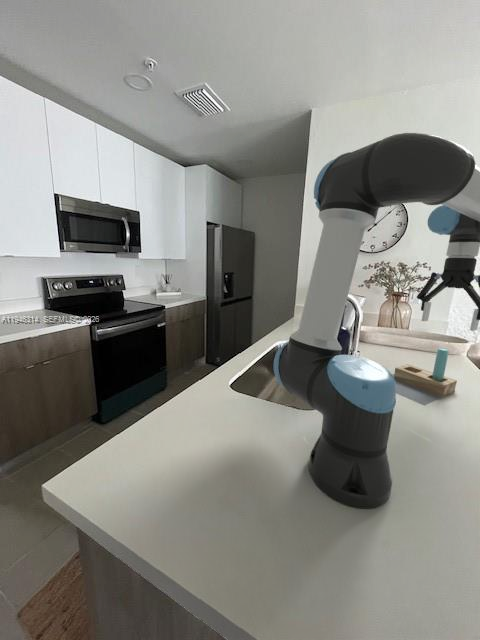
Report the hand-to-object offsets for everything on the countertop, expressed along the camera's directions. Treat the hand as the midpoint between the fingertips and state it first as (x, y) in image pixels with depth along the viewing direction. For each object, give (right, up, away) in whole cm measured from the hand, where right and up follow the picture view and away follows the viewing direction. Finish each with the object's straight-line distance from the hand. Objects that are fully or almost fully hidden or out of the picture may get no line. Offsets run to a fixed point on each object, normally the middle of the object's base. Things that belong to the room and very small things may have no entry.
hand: (447, 325), depth 87 cm
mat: (-7, -22, +7) cm, 24 cm away
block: (-2, -21, +8) cm, 23 cm away
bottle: (-33, -20, +10) cm, 40 cm away
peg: (0, -22, +5) cm, 22 cm away
